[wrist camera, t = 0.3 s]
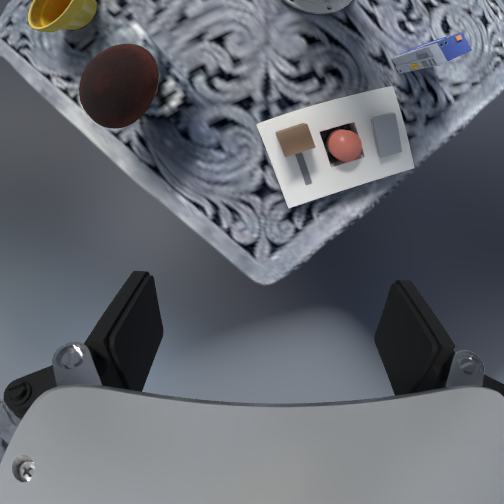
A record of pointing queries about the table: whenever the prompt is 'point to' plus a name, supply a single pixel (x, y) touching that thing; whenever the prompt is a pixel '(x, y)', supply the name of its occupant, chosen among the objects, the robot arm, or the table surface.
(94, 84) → the decorative mushroom
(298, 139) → the walnut slider
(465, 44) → the walkman
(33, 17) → the plant pot
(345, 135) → the red button
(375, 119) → the grey rocker
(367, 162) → the control panel
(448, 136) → the table surface
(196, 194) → the table surface
